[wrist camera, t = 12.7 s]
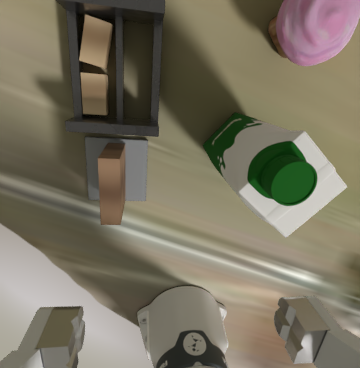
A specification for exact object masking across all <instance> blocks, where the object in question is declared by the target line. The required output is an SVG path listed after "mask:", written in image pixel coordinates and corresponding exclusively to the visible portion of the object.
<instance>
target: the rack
mask: <svg viewBox="0 0 360 368" xmlns="http://www.w3.org/2000/svg"><path fill="white" fill-rule="evenodd" d="M56 1H57V2H58V3H59V4H60V5H61V6H62V7H64V8H65V9H66V13H67V26H68V39H69V52H70V65H71V78H72V91H73V104H74V117H73V118H71V119H69V120H67V121H65V124H66V131H69V132H87V133H104V134H121V135H138V136H155V137H158V135H159V126H158V110H159V89H160V68H161V47H162V26H163V18H164V14H165V0H56ZM85 14H86V15H89V16H91V17H97V18H105V19H113V20H116V90H117V118H116V117H101V116H86V114H83V105H82V89H81V73H83V61H80V60H79V58H80V50H81V27H80V16H85ZM124 21H129V22H137V23H145V24H153V25H154V35H153V63H152V90H151V118H150V120H145V119H130V118H124ZM80 72H81V73H80Z"/></svg>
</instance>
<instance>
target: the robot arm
mask: <svg viewBox="0 0 360 368" xmlns="http://www.w3.org/2000/svg"><path fill="white" fill-rule="evenodd" d="M278 305H279V307H280V308H279V309H278V310H277V311H276V312H275V316H274V323H275V327H276V330H277V332H278V334H279V336H280V337H281V338H282V339H283V340H285V341H286V342H285V348H286V350H287V352H288V354H289V356H290V358H291V359H292V361H293V363H294V364H297V363H314V365H315V366H316V367H317V368H360V338H359V337H357V336H356V335H354V334H352V333H351V332H349V331H348V330H343V329H342V328H341V327H340V325H339V324H338V323H337V322H336V320H335V319H334V318H333V317H332V315H331V314H330V313H329V312H328V310H327V309H326V308H325V307H324V305H323V304H322V303H321V301H320V300H319V299H318V298H317V297H315V296H303V297H302V296H298V297H281V298H280V299H279V301H278ZM226 314H227V311H226V307H225V306H223V305H222V304H220V303H218V302H216V301H215V299H214V298H213V296H212V295H211V294H210V293H209V292H207V291H206V290H204V289H201V288H198V287H193V286H181V287H176V288H172V289H170V290H167V291H165V292H163V293H162V294H160V295H159V296H158V297H157V298H155V300H154V301H153V302H152V303H151V304H149V305H148V306H146V307H144V308H142V309H140V310H139V311H138V312H137V318H138V322H139V326H140V330H141V333H142V337H143V341H144V345H145V348H146V353H147V357H148V359H149V360H151V361H152V363H153V366H154V368H228V365H227V362H226V360H225V356H224V353H225V352H226V349H227V347H228V340H227V336H226V332H225V327H224V323H223V320H224V318H225V316H226ZM82 316H83V307H81V306H77V307H41V308H40V309H39V310H38V311H37V312H36V314H35V316H34V318H33V320H32V322H31V324H30V326H29V328H28V330H27V332H26V334H25V336H24V338H23V340H22V342H21V344H20V346H19V348H18V350H17V351H12V352H11V353H10V354H8V355H7V356H6V357H5V358H4V359H3V360H2V361H0V368H77V365H78V355H77V353H78V352H79V351H80V350H81V349H82V345H83V340H84V334H85V322H84V321H83V320H82Z"/></svg>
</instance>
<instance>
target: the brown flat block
mask: <svg viewBox="0 0 360 368" xmlns="http://www.w3.org/2000/svg"><path fill="white" fill-rule="evenodd" d="M98 174H99V196H100V218H101V225H120V224H121V219H122V214H123V209H124V204H125V199H126V174H125V144H123V143H108V144H107V145H106V147H105V148H104V150H103V151H102V153H101V154H100V156H99V157H98Z"/></svg>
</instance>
